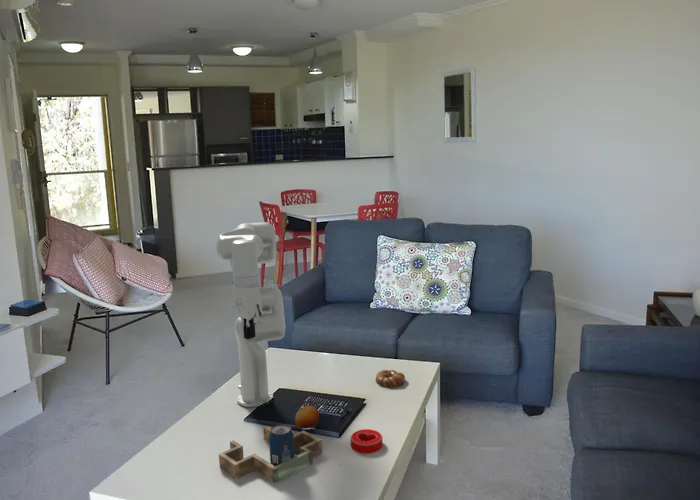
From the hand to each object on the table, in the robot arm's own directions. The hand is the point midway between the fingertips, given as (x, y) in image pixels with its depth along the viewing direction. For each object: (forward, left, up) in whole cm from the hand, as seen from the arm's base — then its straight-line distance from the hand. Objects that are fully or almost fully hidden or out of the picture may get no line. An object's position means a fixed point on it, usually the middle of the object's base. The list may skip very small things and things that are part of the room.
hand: (249, 337), depth 191 cm
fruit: (+9, +14, -32) cm, 36 cm away
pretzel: (+5, +58, -33) cm, 67 cm away
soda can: (+22, -6, -32) cm, 40 cm away
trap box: (+16, -6, -32) cm, 36 cm away
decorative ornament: (+31, +19, -33) cm, 49 cm away
